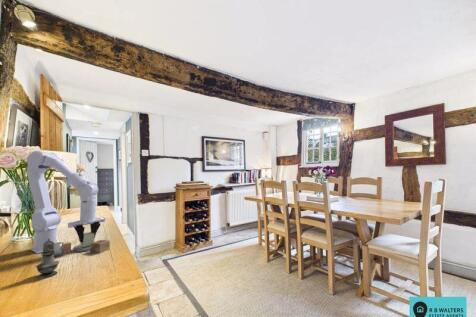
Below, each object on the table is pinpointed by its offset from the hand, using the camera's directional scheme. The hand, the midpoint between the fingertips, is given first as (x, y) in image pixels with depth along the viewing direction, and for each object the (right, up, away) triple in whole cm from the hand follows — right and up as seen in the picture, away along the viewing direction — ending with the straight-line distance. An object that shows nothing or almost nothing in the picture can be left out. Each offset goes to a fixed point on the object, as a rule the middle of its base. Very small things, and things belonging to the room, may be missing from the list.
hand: (86, 240), depth 101 cm
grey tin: (-6, -3, -9) cm, 12 cm away
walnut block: (+8, -3, -4) cm, 10 cm away
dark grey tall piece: (+5, -2, -27) cm, 27 cm away
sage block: (0, -2, 0) cm, 2 cm away
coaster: (0, -3, 0) cm, 3 cm away
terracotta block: (-9, -4, -4) cm, 10 cm away
